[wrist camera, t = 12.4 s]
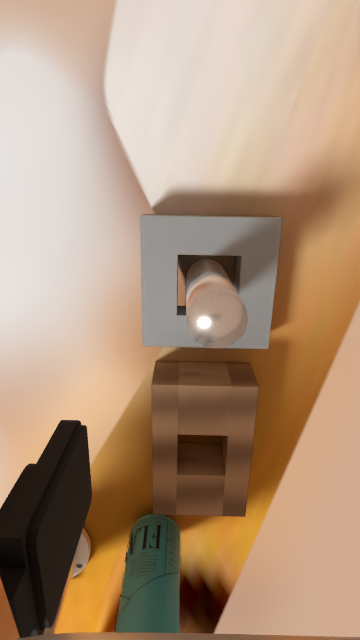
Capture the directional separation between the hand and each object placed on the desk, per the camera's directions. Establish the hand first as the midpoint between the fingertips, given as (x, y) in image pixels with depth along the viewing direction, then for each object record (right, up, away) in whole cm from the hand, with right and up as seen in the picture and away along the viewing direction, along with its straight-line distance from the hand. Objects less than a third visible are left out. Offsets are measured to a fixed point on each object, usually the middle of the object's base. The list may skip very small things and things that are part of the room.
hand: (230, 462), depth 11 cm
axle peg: (+1, +8, +23) cm, 24 cm away
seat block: (+1, +9, +23) cm, 24 cm away
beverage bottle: (-5, -21, +34) cm, 40 cm away
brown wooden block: (+1, -8, +28) cm, 29 cm away
